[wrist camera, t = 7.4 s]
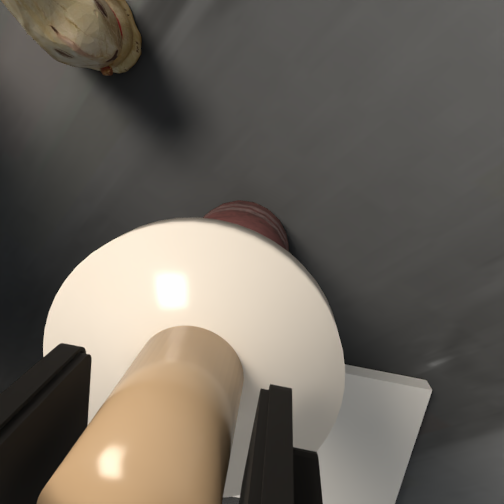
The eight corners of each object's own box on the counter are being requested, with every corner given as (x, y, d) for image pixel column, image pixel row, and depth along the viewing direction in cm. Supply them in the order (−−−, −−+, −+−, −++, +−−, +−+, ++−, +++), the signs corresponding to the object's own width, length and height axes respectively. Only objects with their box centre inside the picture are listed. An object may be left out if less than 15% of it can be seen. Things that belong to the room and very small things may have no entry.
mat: (426, 380, 28) (432, 390, 27) (382, 514, 31) (386, 528, 30) (172, 330, 28) (167, 338, 27) (156, 467, 32) (151, 479, 31)
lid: (370, 247, 12) (460, 358, 6) (308, 491, 14) (323, 750, 8) (69, 193, 12) (-149, 243, 6) (59, 440, 14) (-102, 652, 8)
